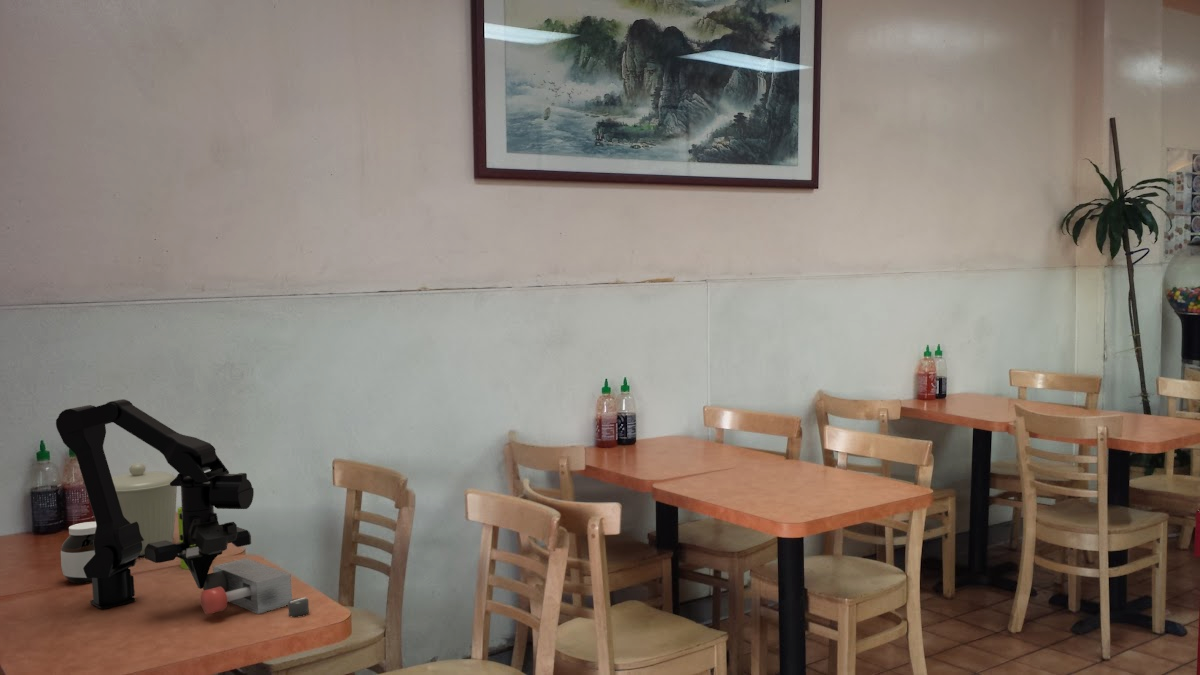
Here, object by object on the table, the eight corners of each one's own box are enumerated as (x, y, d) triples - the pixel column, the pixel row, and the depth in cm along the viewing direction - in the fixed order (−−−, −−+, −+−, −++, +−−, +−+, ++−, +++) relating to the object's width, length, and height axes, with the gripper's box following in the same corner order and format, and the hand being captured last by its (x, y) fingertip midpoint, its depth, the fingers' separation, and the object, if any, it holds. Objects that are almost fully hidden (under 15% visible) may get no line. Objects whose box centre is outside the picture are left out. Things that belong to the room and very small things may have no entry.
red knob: (212, 616, 182) (210, 592, 182) (201, 611, 185) (200, 588, 185) (272, 600, 191) (271, 577, 190) (261, 595, 194) (260, 573, 193)
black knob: (213, 599, 192) (212, 576, 192) (203, 594, 196) (201, 572, 195) (270, 584, 201) (269, 562, 201) (260, 580, 204) (259, 559, 204)
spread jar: (77, 587, 208) (73, 532, 207) (47, 580, 214) (43, 527, 213) (130, 572, 218) (127, 519, 217) (100, 566, 224) (97, 514, 223)
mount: (258, 614, 187) (256, 582, 186) (214, 595, 199) (212, 566, 199) (292, 604, 192) (290, 573, 191) (247, 587, 204) (245, 558, 204)
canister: (199, 546, 239) (194, 459, 237) (129, 565, 223) (123, 472, 222) (154, 538, 248) (149, 454, 247) (83, 556, 233) (78, 466, 232)
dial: (295, 618, 184) (294, 603, 183) (285, 614, 186) (284, 600, 186) (312, 613, 186) (311, 599, 186) (302, 609, 189) (301, 595, 188)
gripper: (166, 522, 180) (169, 608, 181) (263, 505, 193) (266, 585, 194) (141, 514, 188) (145, 596, 188) (236, 498, 201) (239, 575, 202)
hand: (200, 588), depth 193 cm, fingers closed
